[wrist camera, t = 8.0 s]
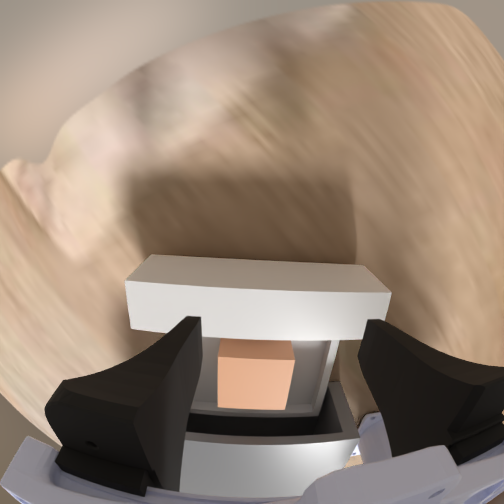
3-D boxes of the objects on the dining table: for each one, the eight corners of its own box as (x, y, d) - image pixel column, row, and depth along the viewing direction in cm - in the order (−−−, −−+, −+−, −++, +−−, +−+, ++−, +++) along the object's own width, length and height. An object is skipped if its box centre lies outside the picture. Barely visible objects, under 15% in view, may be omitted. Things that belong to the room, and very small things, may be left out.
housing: (339, 381, 23) (360, 437, 17) (307, 468, 28) (314, 511, 21) (158, 374, 23) (136, 431, 16) (177, 464, 27) (169, 507, 21)
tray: (363, 264, 19) (391, 292, 15) (328, 404, 23) (339, 442, 18) (151, 253, 19) (124, 280, 14) (167, 398, 23) (156, 437, 18)
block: (287, 325, 20) (295, 360, 16) (279, 373, 21) (285, 409, 17) (223, 322, 20) (217, 356, 16) (221, 370, 21) (217, 407, 17)
